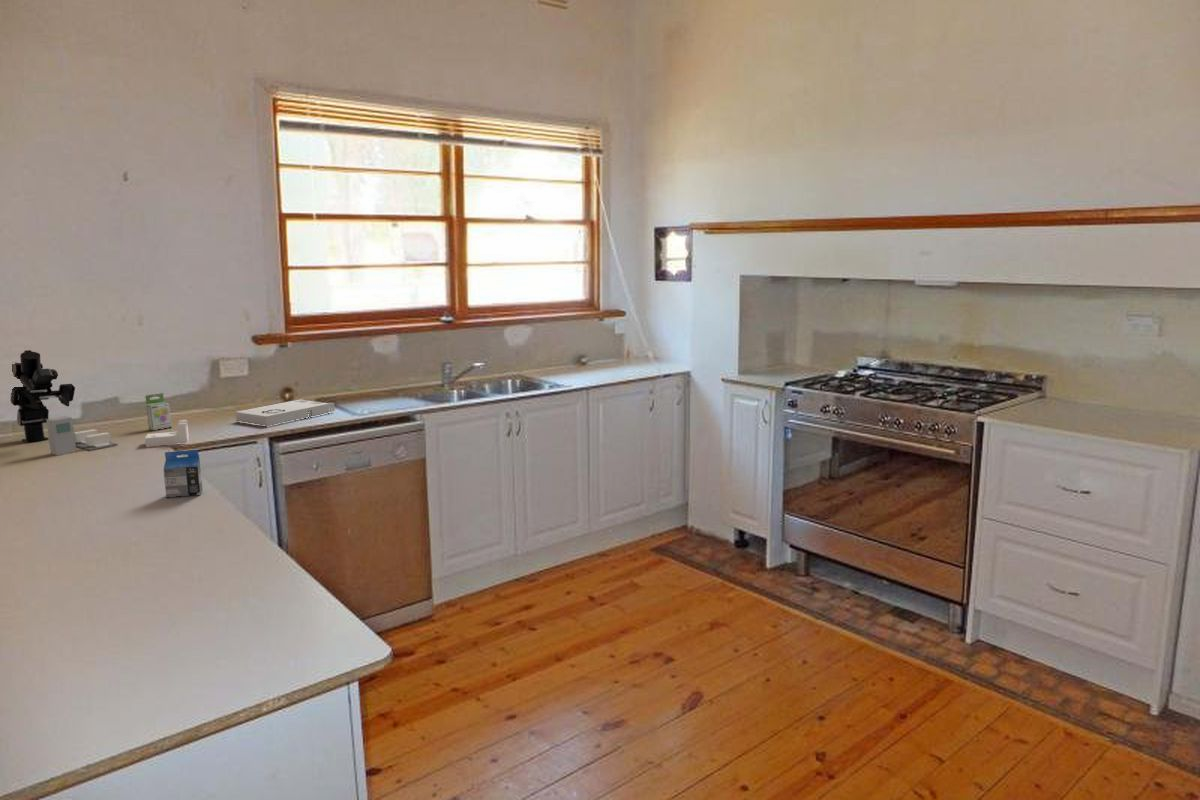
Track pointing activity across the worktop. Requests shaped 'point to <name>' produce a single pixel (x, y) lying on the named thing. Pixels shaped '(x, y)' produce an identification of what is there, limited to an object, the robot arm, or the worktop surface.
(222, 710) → the worktop surface
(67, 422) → the grey module
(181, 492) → the blue retail package
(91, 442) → the module rail
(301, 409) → the power supply unit
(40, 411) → the robot arm
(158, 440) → the bracket
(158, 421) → the ink box
